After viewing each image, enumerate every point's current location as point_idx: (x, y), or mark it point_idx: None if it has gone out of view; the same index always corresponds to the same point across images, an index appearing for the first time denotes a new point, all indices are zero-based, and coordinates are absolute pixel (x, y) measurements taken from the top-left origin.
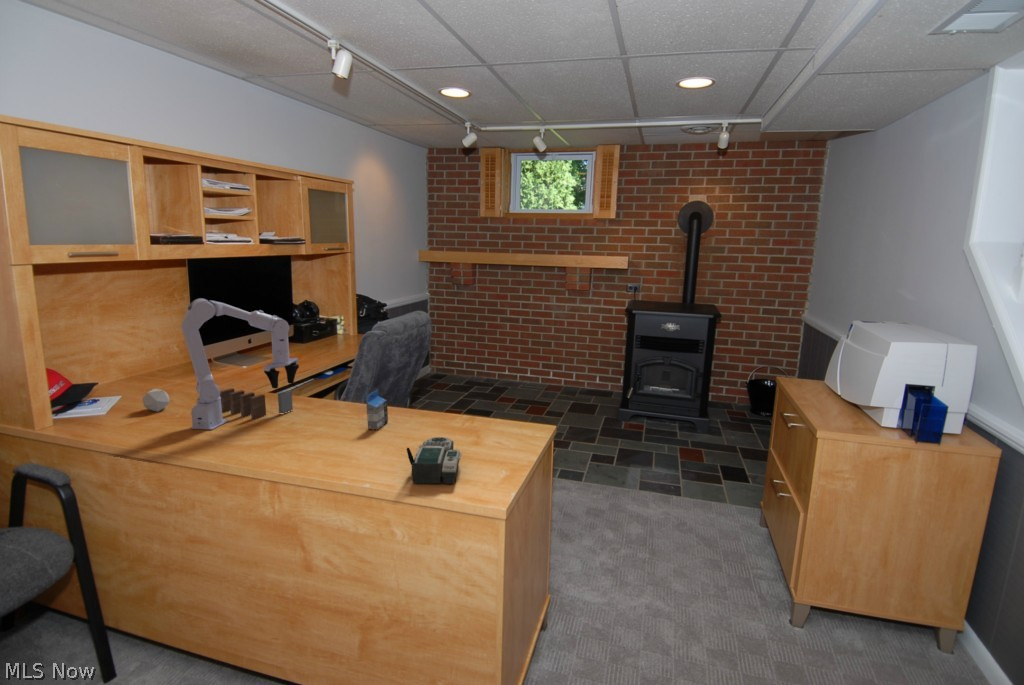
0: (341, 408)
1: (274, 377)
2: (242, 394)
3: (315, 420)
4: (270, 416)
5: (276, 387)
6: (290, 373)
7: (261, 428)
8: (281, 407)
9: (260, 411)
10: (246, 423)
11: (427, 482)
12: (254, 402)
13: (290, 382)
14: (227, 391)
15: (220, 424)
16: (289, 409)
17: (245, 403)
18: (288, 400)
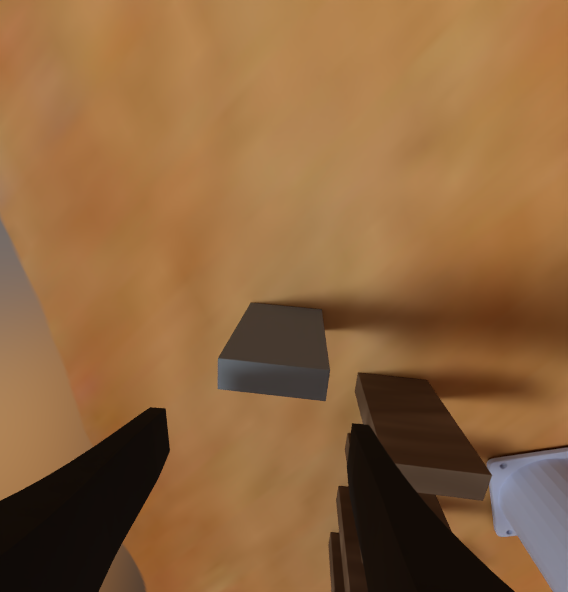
0: (70, 64)
1: (472, 558)
2: (362, 584)
3: (330, 42)
4: (363, 344)
5: (372, 430)
6: (91, 528)
7: (550, 249)
8: (323, 327)
9: (398, 394)
10: (493, 371)
11: None
12: (464, 445)
13: (162, 432)
14: None
15: (556, 451)
16: (270, 309)
17: (422, 498)
18: (265, 332)
